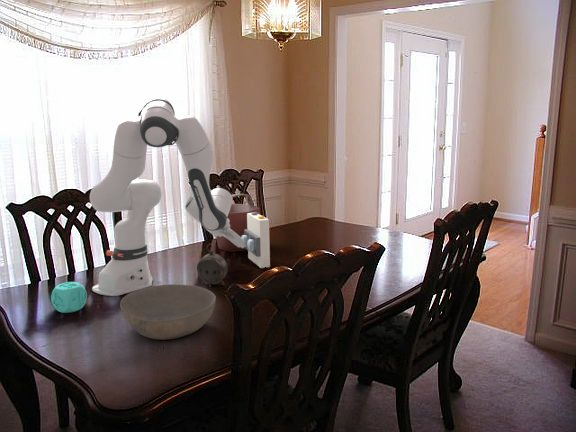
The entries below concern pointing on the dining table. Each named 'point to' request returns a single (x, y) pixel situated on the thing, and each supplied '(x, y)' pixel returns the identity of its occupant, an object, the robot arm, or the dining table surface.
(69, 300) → the decorative dice
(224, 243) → the bucket
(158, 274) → the dining table surface
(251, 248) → the button lit
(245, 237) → the button unlit
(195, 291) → the bowl
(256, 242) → the button panel
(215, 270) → the alarm clock
